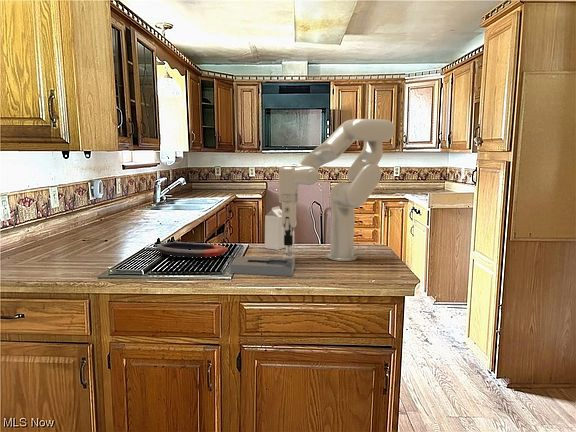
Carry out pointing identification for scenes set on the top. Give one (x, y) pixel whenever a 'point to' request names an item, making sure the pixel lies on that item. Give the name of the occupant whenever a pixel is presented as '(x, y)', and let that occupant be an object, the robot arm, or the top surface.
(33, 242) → the top surface
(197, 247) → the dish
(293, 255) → the peg
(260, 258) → the keyhole plate
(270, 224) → the milk carton
